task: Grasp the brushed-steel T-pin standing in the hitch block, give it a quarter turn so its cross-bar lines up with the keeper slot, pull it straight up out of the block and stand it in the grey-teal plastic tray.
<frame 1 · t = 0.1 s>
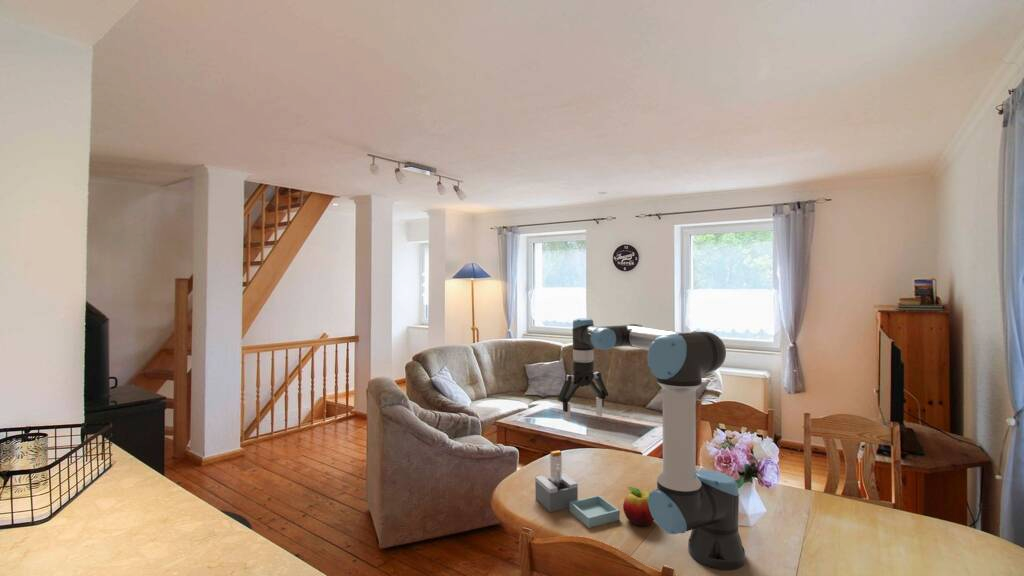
hand: (583, 417, 177), 28 cm above the table, fingers open, 13 cm apart
tray: (594, 515, 162), on the table
fruit: (640, 521, 157), on the table
hitch block: (556, 502, 171), on the table
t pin: (556, 502, 171), resting in hitch block
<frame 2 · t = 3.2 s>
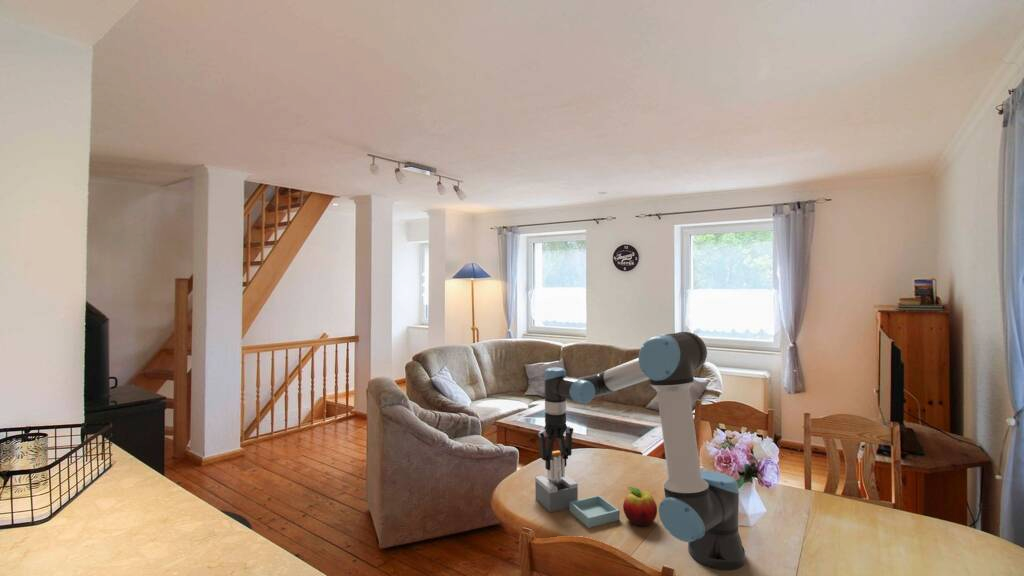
hand: (556, 476, 171), 9 cm above the table, fingers closed on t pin, 4 cm apart
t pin: (556, 502, 171), resting in hitch block, touching gripper
everything else where it was.
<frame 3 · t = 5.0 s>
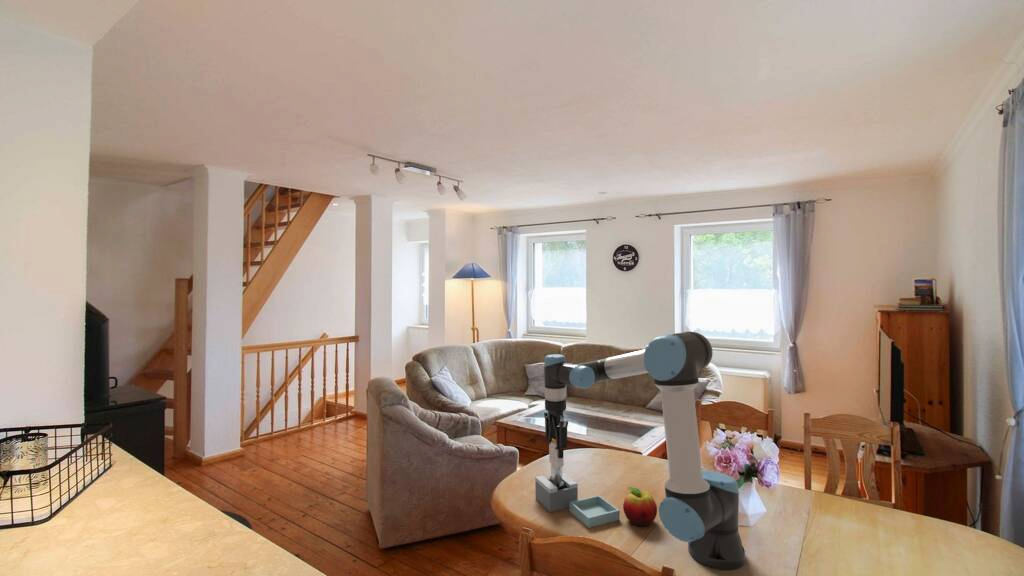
hand: (556, 464, 171), 14 cm above the table, fingers closed on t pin, 4 cm apart
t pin: (556, 489, 171), point 5 cm above the table, touching gripper
everything else where it was.
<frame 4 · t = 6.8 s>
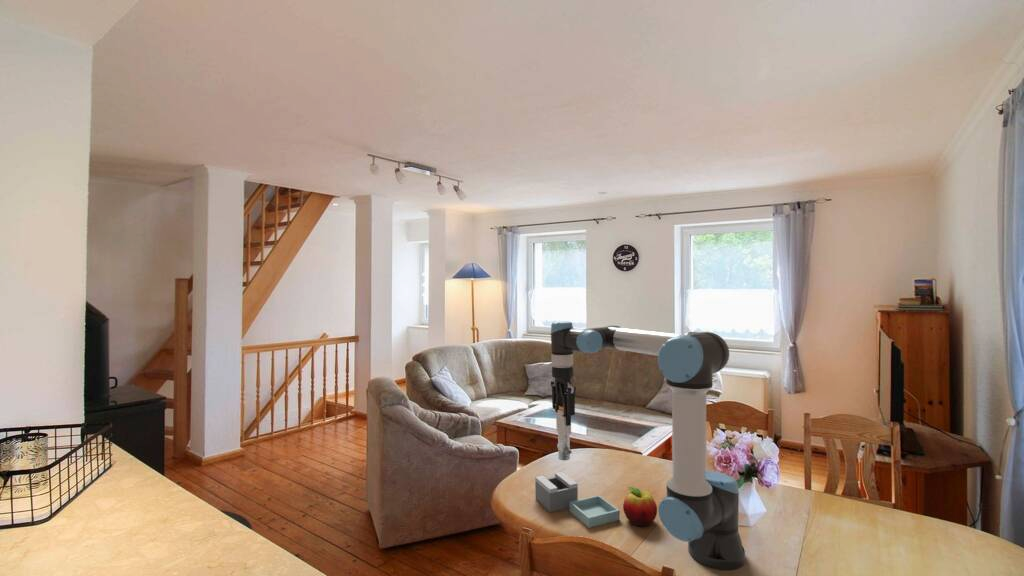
hand: (563, 432, 168), 26 cm above the table, fingers closed on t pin, 4 cm apart
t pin: (564, 458, 168), point 17 cm above the table, touching gripper
everything else where it was.
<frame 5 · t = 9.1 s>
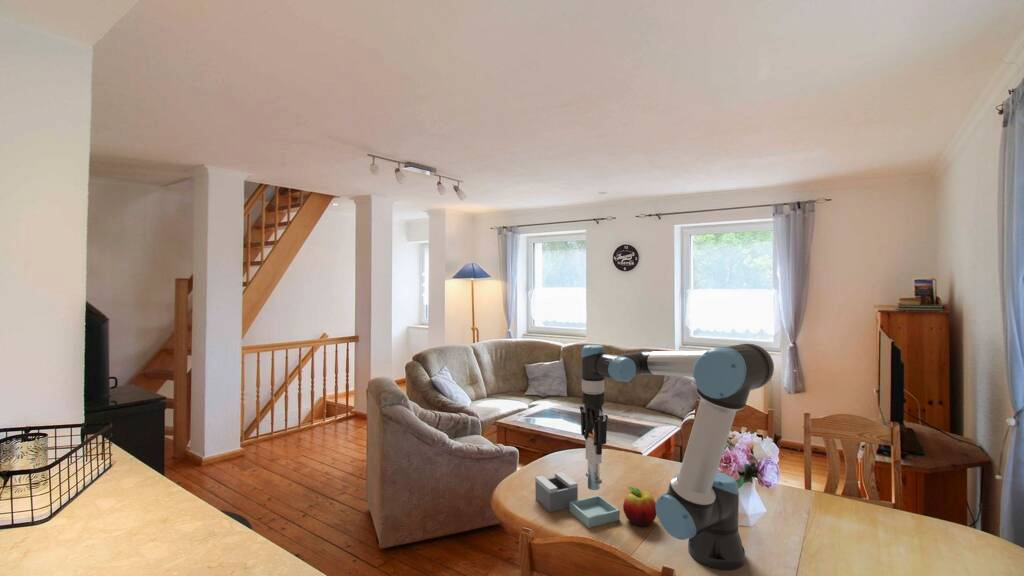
hand: (593, 460, 161), 19 cm above the table, fingers closed on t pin, 4 cm apart
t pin: (593, 487, 161), point 9 cm above the table, touching gripper
everything else where it was.
when the fingers open (11 cm above the table, at t = 10.7 s): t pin stays where it is, resting on tray.
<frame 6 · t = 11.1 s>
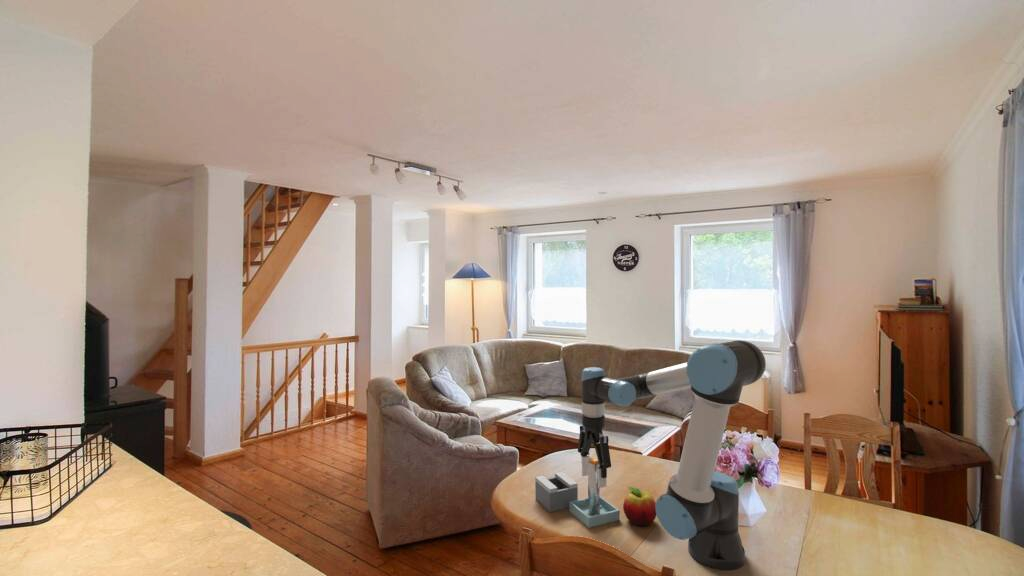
hand: (593, 480, 161), 12 cm above the table, fingers open, 9 cm apart
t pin: (594, 513, 162), point 1 cm above the table, touching tray
everything else where it was.
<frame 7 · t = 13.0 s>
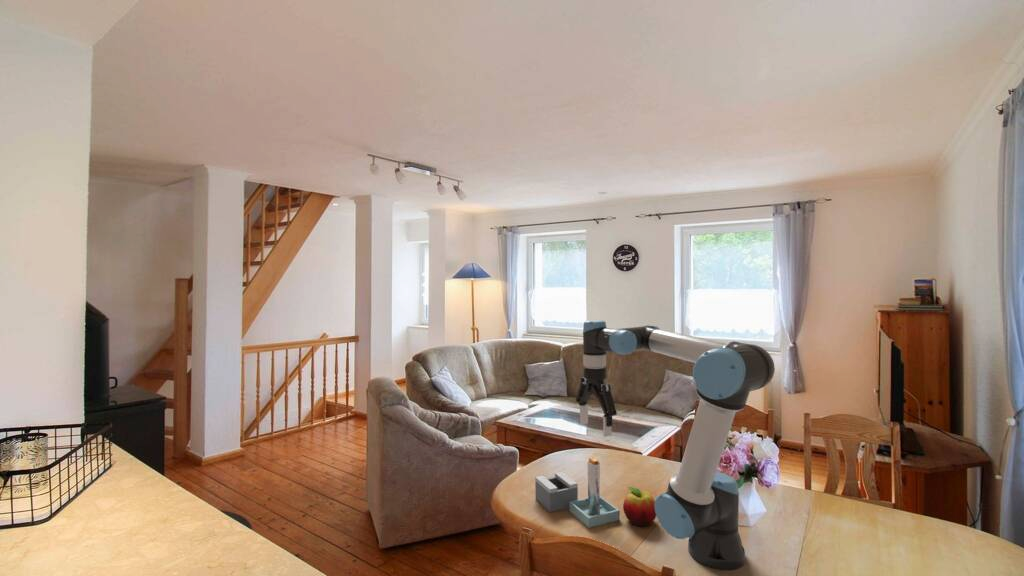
hand: (595, 429, 161), 29 cm above the table, fingers open, 13 cm apart
nothing on the table moved.
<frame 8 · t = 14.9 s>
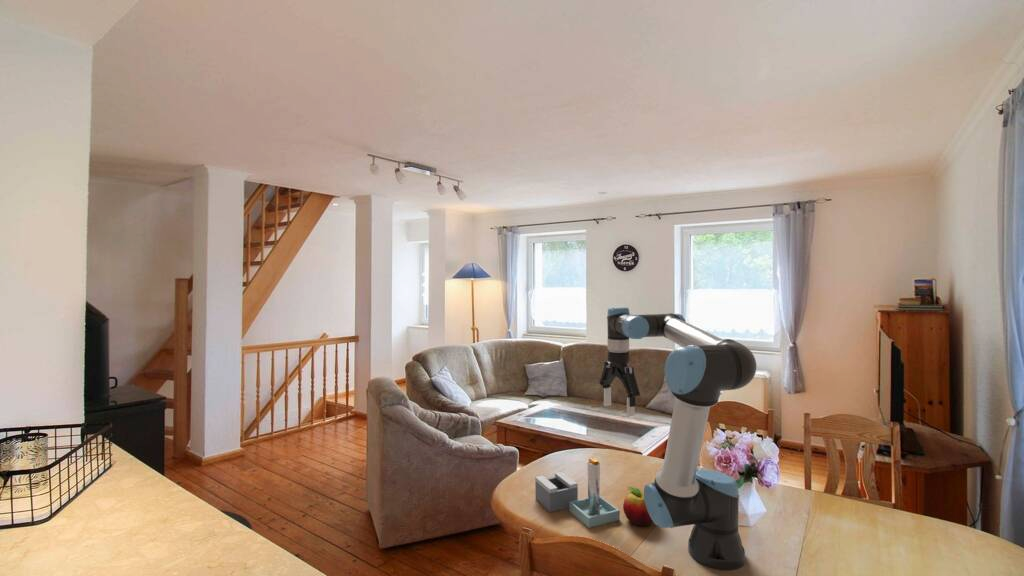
hand: (618, 410, 170), 33 cm above the table, fingers open, 13 cm apart
nothing on the table moved.
at the end: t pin inside the target area on the tray (0.0 cm from its centre), point 0.8 cm above the tray's base; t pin touching tray; the gripper is holding nothing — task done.
